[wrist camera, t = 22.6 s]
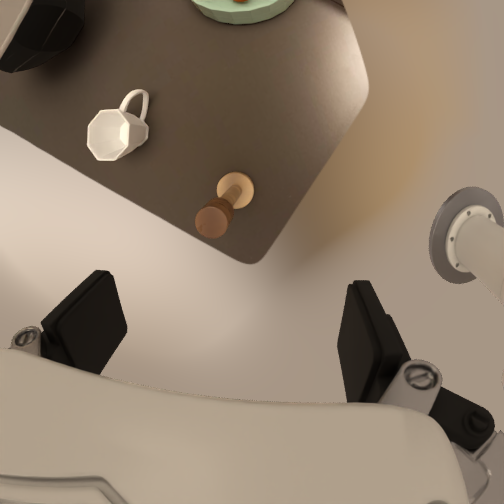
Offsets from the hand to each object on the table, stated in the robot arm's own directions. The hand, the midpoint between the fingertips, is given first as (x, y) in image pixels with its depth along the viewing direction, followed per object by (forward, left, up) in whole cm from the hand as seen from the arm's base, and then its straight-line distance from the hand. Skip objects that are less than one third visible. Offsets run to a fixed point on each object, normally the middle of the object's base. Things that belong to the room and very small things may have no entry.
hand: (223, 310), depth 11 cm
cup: (+18, -9, -31) cm, 37 cm away
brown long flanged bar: (+4, +2, -30) cm, 31 cm away
